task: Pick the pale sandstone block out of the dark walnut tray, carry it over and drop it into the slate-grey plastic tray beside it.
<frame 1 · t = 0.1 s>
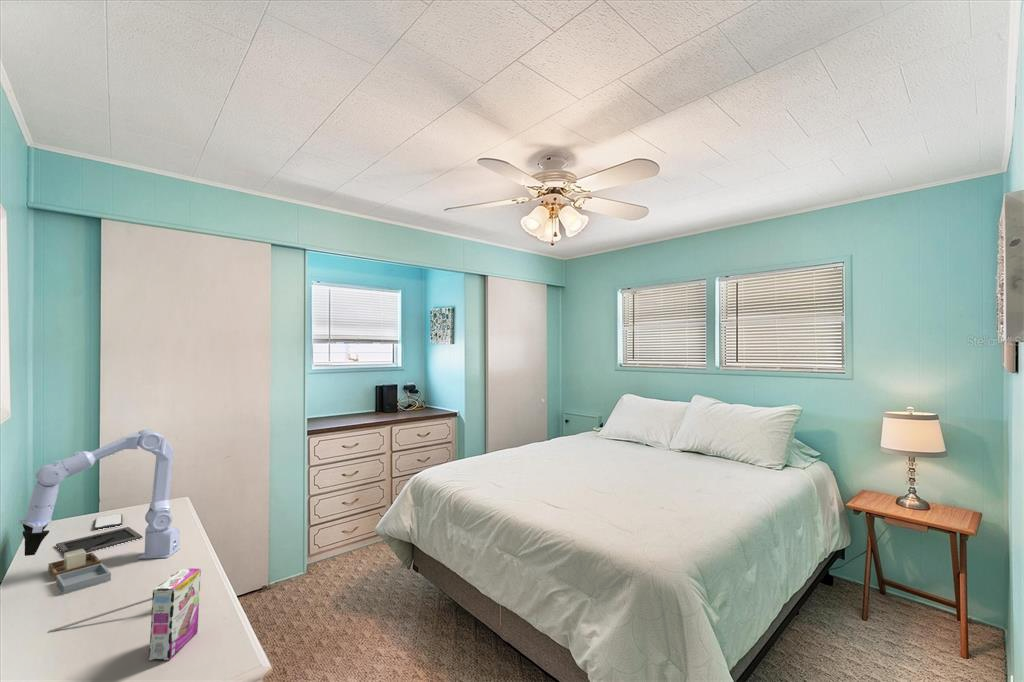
hand: (29, 551, 139), 11 cm above the table, tool pointing down, fingers open, 7 cm apart
walnut tray: (74, 569, 149), on the table
sandstone block: (74, 568, 149), point 1 cm above the table, touching walnut tray
candy bar box: (175, 647, 112), on the table
phone case: (108, 524, 190), on the table
grey tray: (83, 581, 142), on the table
brush: (122, 618, 123), on the table
picture frame: (100, 544, 171), on the table
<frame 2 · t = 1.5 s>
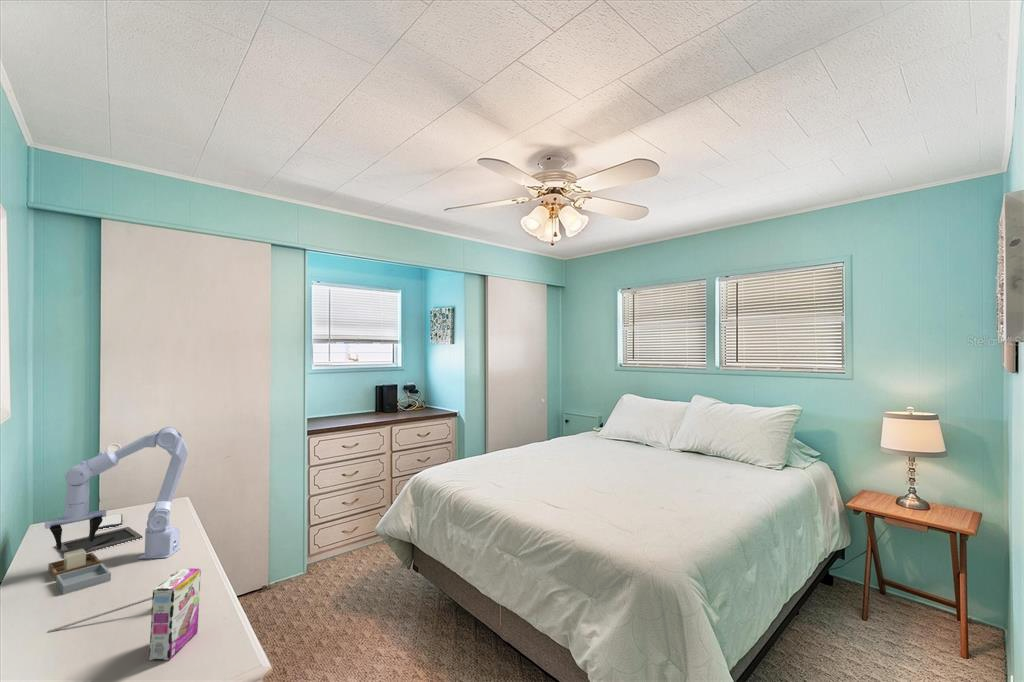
hand: (75, 544, 150), 8 cm above the table, tool pointing down, fingers open, 7 cm apart
nothing on the table moved.
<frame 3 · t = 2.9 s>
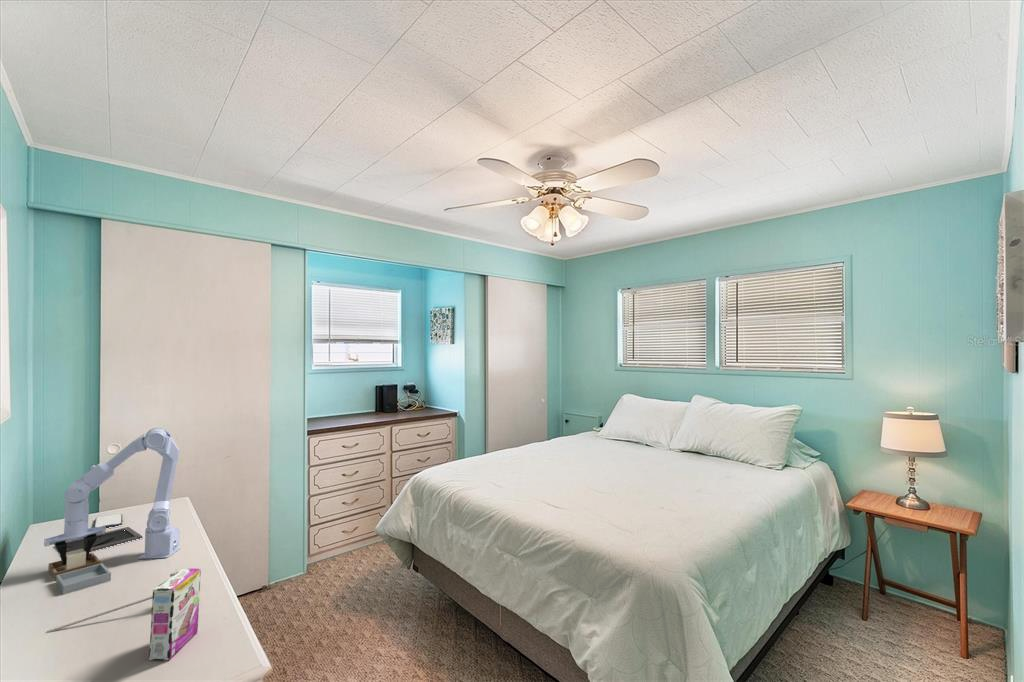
hand: (74, 561, 150), 3 cm above the table, tool pointing down, fingers closed on sandstone block, 4 cm apart
sandstone block: (74, 568, 149), point 1 cm above the table, touching gripper, walnut tray
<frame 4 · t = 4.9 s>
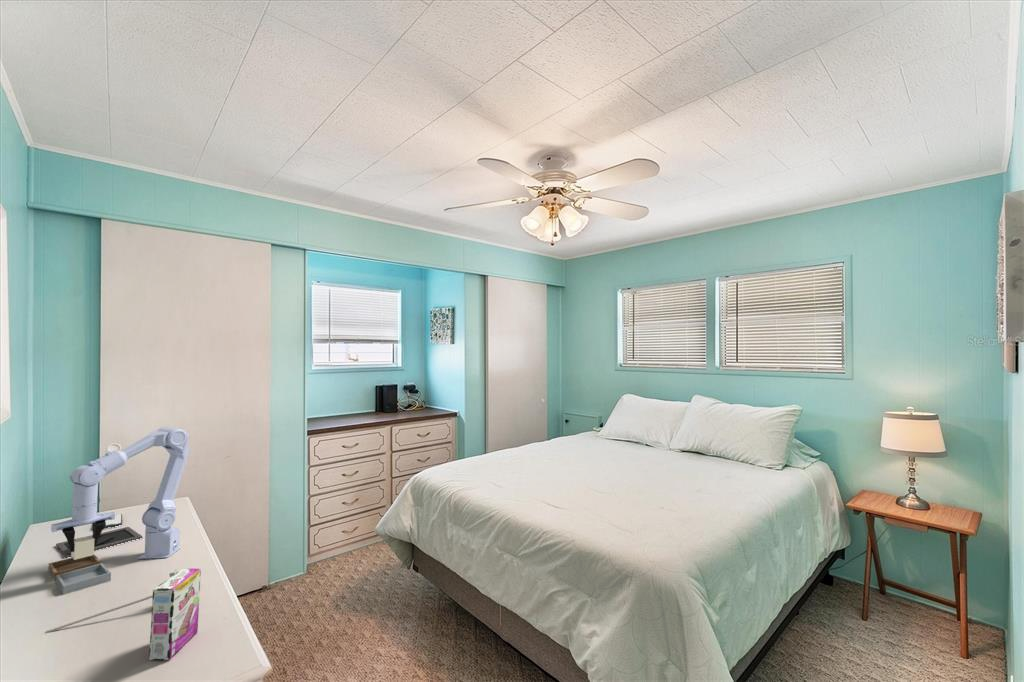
hand: (83, 548, 143), 10 cm above the table, tool pointing down, fingers closed on sandstone block, 4 cm apart
sandstone block: (82, 555, 144), point 7 cm above the table, touching gripper
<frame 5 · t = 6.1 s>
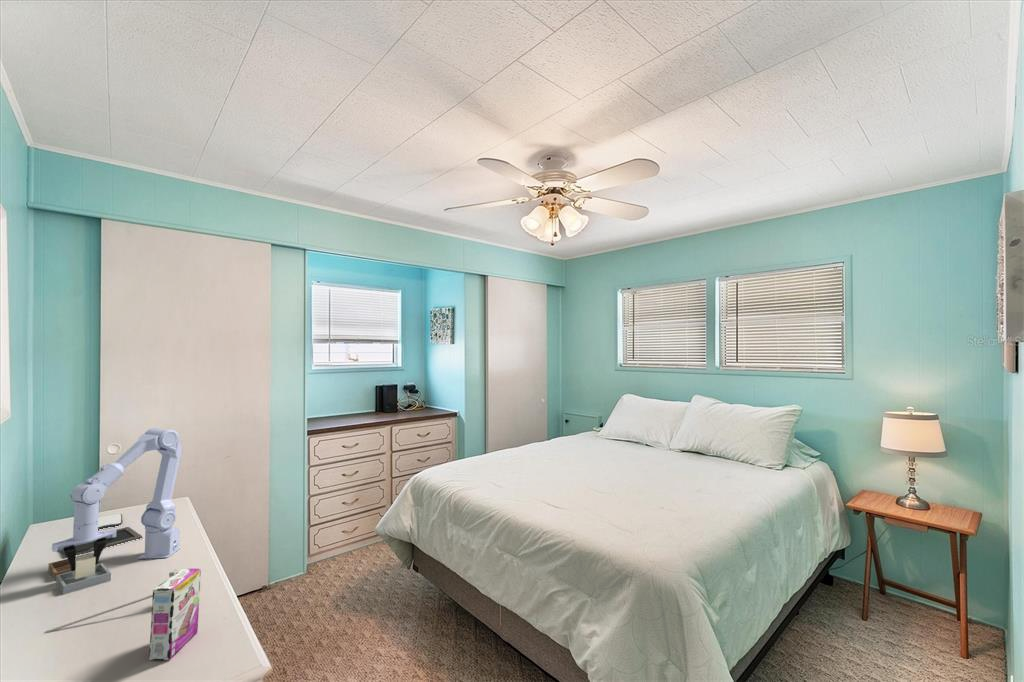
hand: (84, 567, 142), 5 cm above the table, tool pointing down, fingers closed on sandstone block, 4 cm apart
sandstone block: (83, 574, 142), point 2 cm above the table, touching gripper
when the fingers open (4 cm above the table, at t = 6.9 s): sandstone block drops 2 cm, resting on grey tray.
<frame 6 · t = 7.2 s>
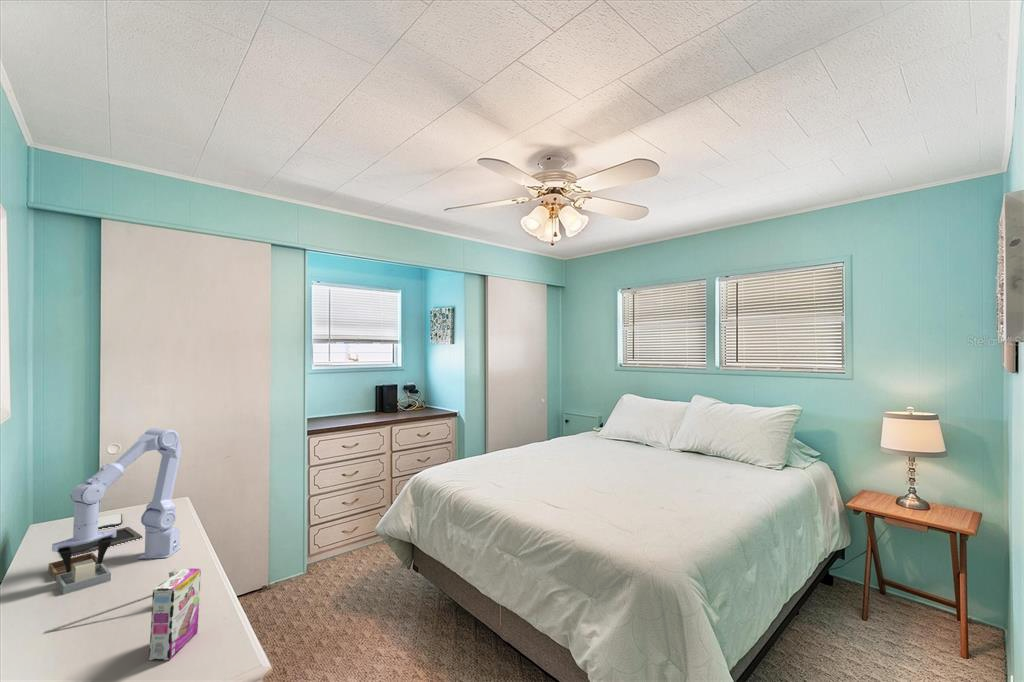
hand: (84, 567, 142), 5 cm above the table, tool pointing down, fingers open, 7 cm apart
sandstone block: (83, 579, 142), point 1 cm above the table, touching grey tray
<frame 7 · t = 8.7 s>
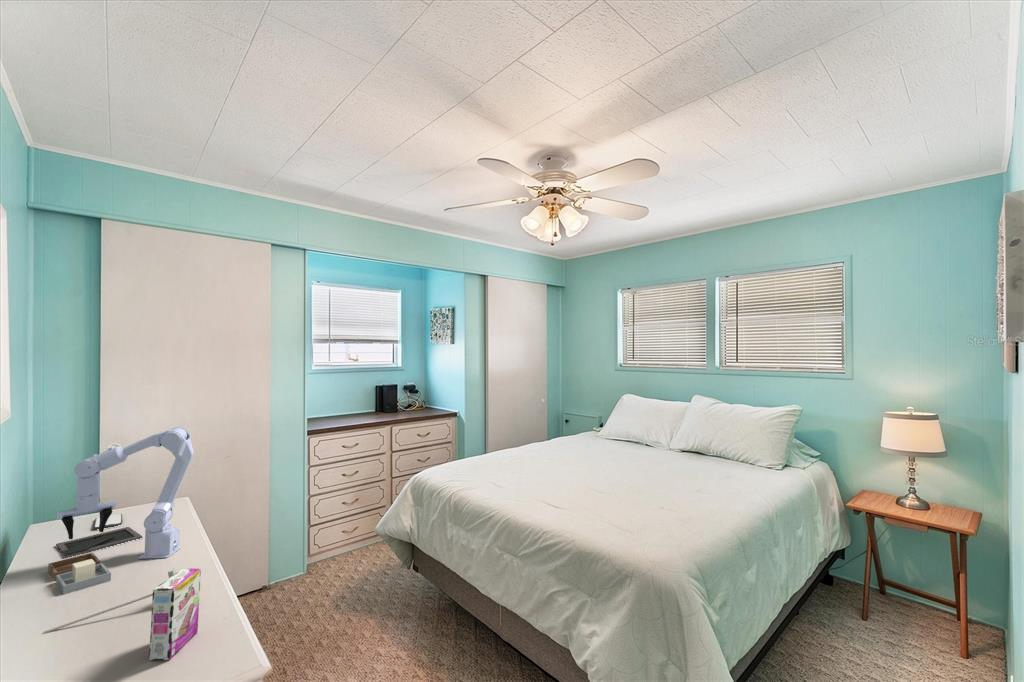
hand: (86, 534, 154), 9 cm above the table, tool pointing down, fingers open, 7 cm apart
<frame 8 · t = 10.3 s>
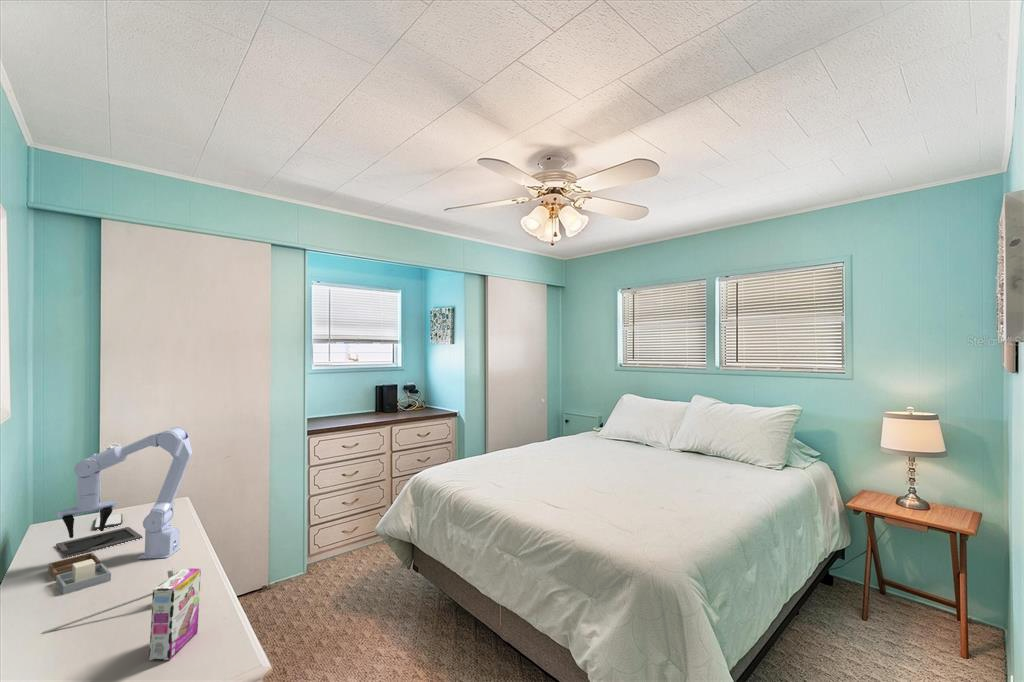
hand: (86, 533, 156), 9 cm above the table, tool pointing down, fingers open, 7 cm apart
at the end: sandstone block inside the target area on the grey tray (0.4 cm from its centre), point 0.6 cm above the grey tray's base; the gripper is holding nothing; sandstone block tilted 0° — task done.
